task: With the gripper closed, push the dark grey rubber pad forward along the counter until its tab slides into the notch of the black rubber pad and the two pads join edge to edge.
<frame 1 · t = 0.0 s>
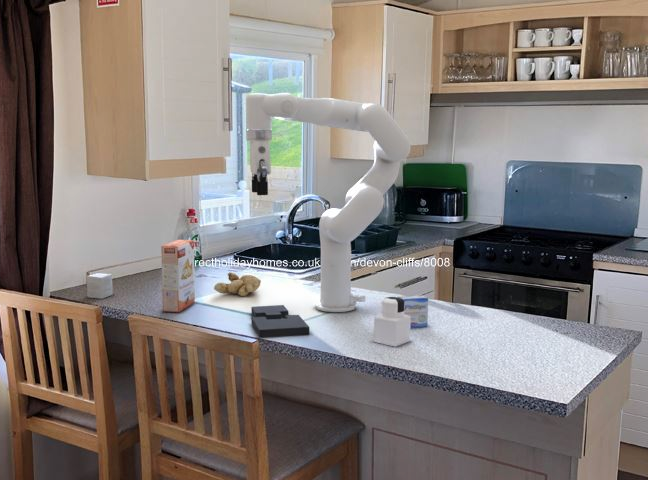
hand: (259, 193, 229), 37 cm above the countertop, tool pointing down, fingers open, 9 cm apart
cracker box: (179, 308, 242), on the countertop
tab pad: (269, 315, 232), on the countertop
medicine box: (412, 326, 220), on the countertop
product box: (100, 296, 257), on the countertop
notch pad: (279, 329, 216), on the countertop
medicine bottle: (392, 342, 205), on the countertop
ginger root: (241, 293, 262), on the countertop
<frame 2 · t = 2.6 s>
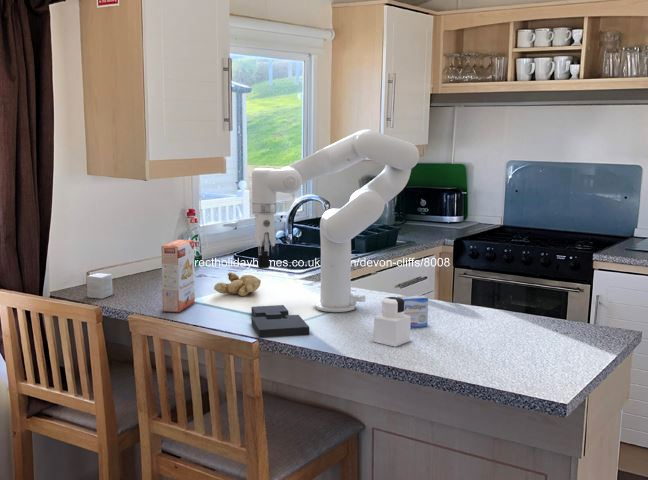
hand: (263, 267, 237), 13 cm above the countertop, tool pointing down, fingers closed
nothing on the countertop moved.
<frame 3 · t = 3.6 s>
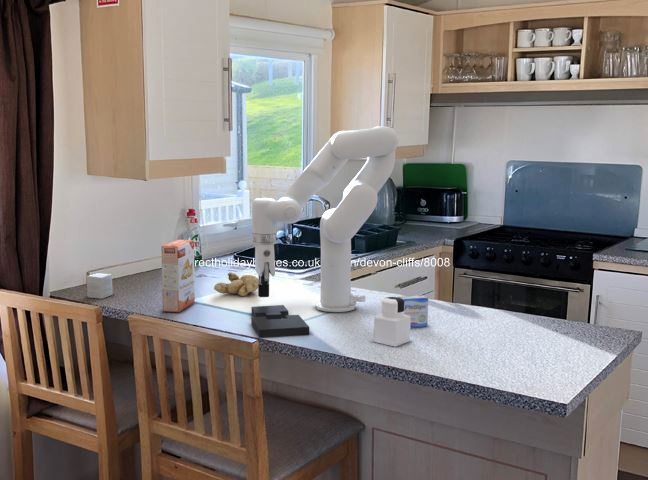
hand: (263, 296, 238), 4 cm above the countertop, tool pointing down, fingers closed
nothing on the countertop moved.
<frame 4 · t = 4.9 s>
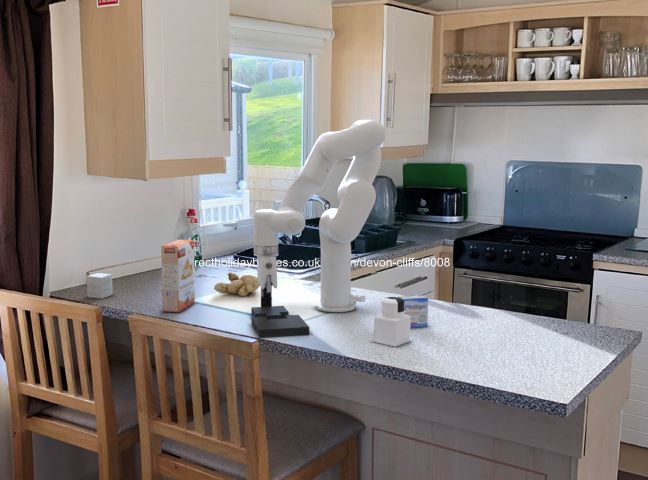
hand: (266, 308, 236), 1 cm above the countertop, tool pointing down, fingers closed
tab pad: (269, 316, 231), on the countertop, touching gripper
everything else where it was.
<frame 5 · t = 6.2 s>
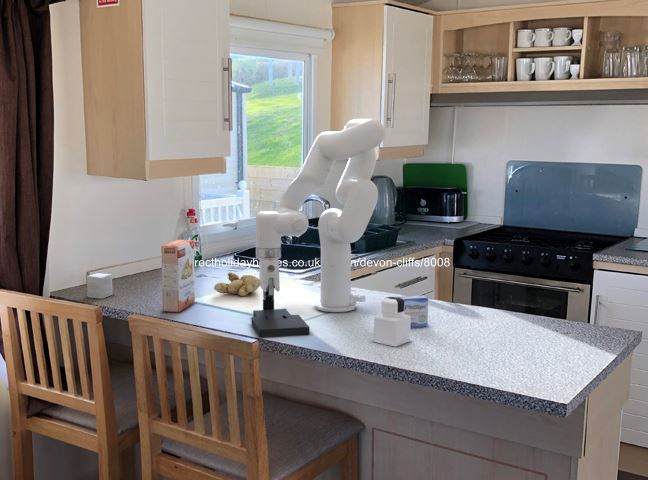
hand: (268, 312, 232), 1 cm above the countertop, tool pointing down, fingers closed
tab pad: (272, 319, 227), on the countertop, touching gripper, notch pad
everything else where it was.
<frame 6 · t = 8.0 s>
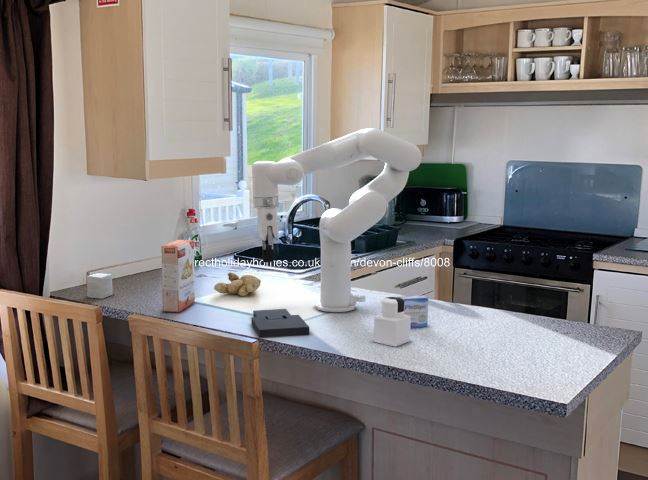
hand: (268, 261, 234), 16 cm above the countertop, tool pointing down, fingers closed
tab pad: (272, 319, 227), on the countertop, touching notch pad
everything else where it was.
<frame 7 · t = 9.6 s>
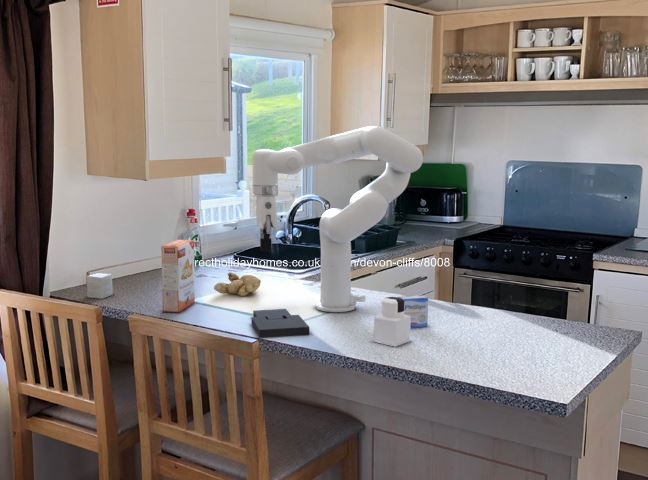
hand: (265, 250, 234), 19 cm above the countertop, tool pointing down, fingers closed
nothing on the countertop moved.
at the end: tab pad 0.3 cm from the target spot, on the countertop; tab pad touching notch pad, countertop; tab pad tilted 0° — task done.
